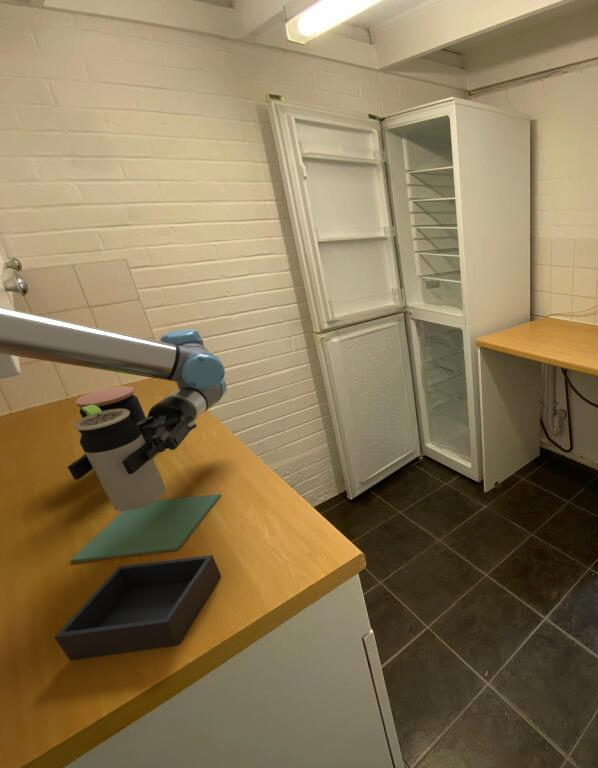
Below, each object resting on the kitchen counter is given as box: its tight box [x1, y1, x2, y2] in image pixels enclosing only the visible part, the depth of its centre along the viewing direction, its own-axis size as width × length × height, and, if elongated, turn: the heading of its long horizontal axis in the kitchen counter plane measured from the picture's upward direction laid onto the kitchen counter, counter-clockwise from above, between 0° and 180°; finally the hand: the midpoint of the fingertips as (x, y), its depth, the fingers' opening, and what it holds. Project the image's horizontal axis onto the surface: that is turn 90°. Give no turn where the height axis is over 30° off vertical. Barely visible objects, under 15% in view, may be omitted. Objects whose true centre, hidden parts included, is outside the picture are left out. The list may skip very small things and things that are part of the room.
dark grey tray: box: [53, 554, 222, 661], centre depth 65 cm, size 14×12×5 cm
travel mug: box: [73, 409, 167, 512], centre depth 78 cm, size 8×8×18 cm
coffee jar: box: [74, 385, 155, 444], centre depth 104 cm, size 11×11×18 cm
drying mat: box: [70, 493, 222, 563], centre depth 84 cm, size 18×16×1 cm
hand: (100, 470), depth 73 cm, fingers closed on travel mug, 8 cm apart
